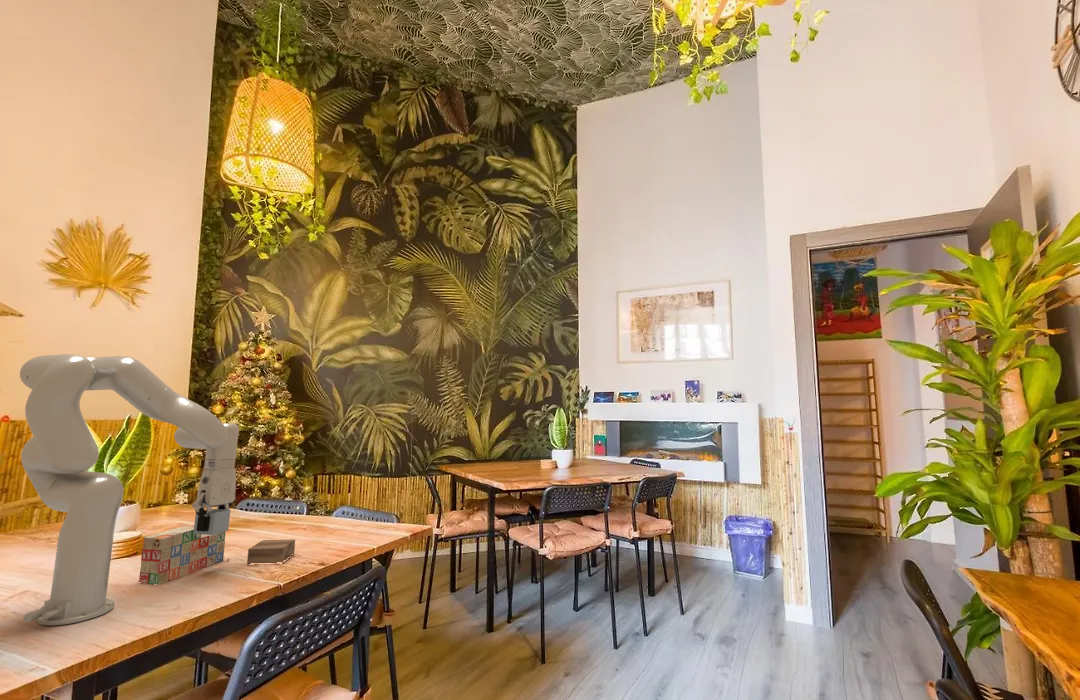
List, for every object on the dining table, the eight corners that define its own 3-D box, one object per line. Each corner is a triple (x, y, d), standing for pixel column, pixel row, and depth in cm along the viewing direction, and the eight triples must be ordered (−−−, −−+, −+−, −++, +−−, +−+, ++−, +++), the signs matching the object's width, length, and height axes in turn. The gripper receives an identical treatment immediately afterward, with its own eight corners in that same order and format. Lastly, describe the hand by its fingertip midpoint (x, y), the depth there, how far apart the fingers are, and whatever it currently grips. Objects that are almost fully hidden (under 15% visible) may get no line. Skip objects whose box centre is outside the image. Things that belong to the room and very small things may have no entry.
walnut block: (281, 565, 146) (283, 548, 146) (246, 566, 145) (248, 549, 145) (294, 555, 156) (295, 539, 156) (261, 556, 154) (262, 540, 155)
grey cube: (212, 535, 136) (215, 513, 136) (193, 534, 136) (196, 512, 137) (228, 530, 141) (230, 509, 142) (209, 529, 142) (211, 508, 143)
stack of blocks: (206, 559, 150) (210, 519, 151) (223, 561, 148) (227, 520, 150) (137, 583, 129) (143, 536, 130) (157, 585, 128) (162, 537, 129)
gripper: (209, 467, 133) (200, 535, 130) (251, 463, 150) (244, 523, 147) (184, 467, 134) (174, 534, 131) (228, 462, 151) (221, 522, 148)
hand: (211, 527), depth 139 cm, fingers closed on grey cube, 6 cm apart
